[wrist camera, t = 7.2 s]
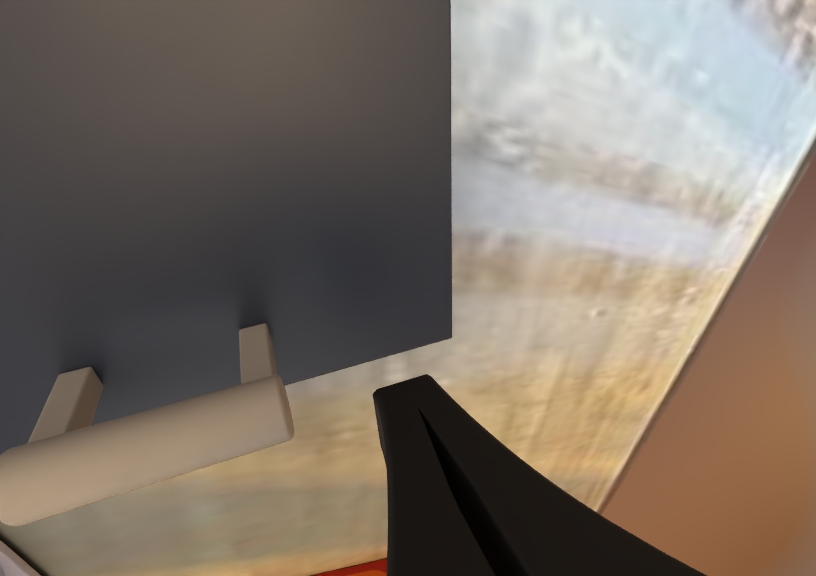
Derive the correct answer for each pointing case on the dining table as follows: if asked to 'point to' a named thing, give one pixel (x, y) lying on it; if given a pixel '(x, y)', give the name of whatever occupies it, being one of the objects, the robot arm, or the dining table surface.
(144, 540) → the dining table surface
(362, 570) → the baking soda box
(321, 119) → the cover
